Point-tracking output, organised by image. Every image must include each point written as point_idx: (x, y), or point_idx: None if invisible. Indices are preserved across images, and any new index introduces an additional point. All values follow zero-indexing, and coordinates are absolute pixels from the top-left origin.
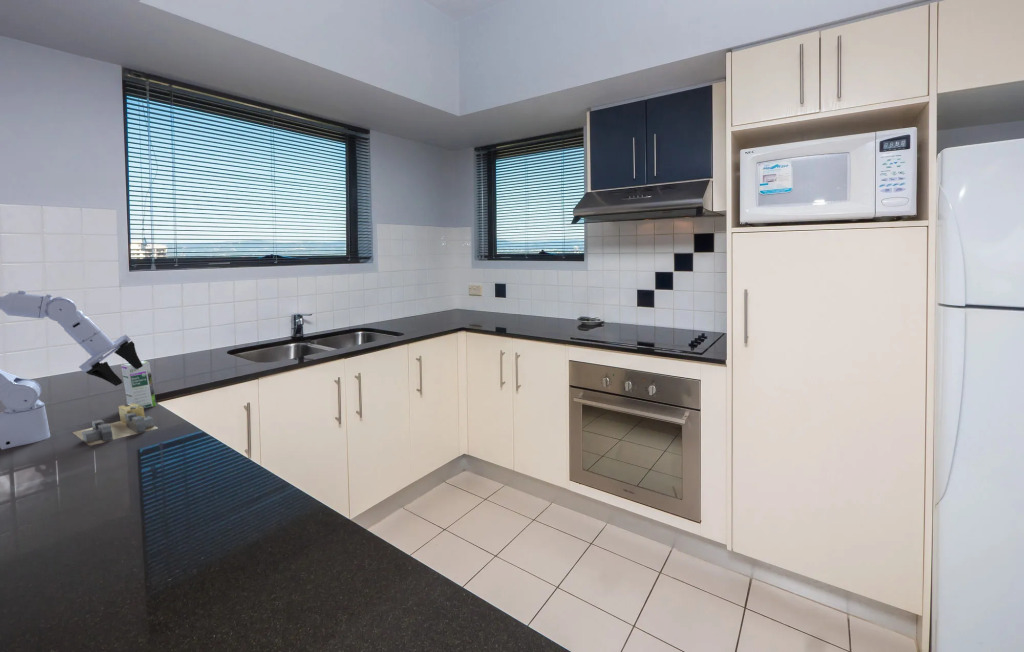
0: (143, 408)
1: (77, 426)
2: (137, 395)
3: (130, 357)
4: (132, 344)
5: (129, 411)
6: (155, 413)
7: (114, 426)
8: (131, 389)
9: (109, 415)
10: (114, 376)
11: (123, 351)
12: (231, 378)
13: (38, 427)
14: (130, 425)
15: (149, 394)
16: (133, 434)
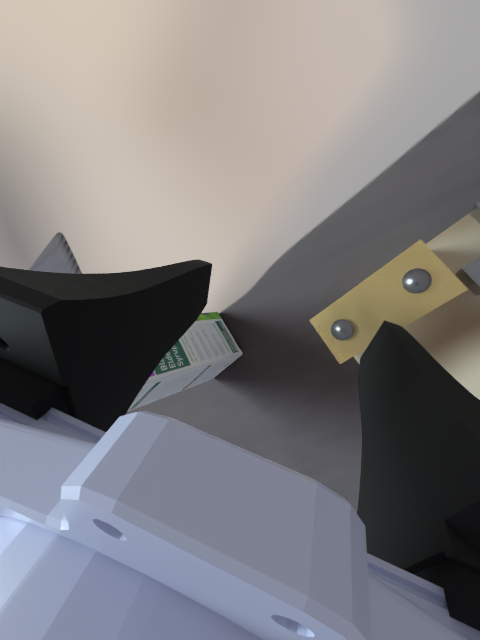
0: (421, 240)
1: (319, 474)
2: (207, 350)
3: (159, 319)
4: (18, 274)
5: (460, 282)
6: (271, 290)
7: (430, 351)
8: (196, 366)
9: (240, 413)
10: (430, 361)
11: (109, 373)
12: (69, 246)
13: None
14: None
15: (195, 323)
16: None
